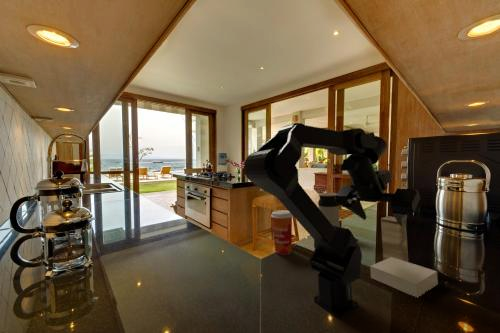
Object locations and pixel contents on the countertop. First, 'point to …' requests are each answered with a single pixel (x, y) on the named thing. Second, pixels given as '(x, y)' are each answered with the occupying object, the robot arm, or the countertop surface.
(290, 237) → the paper cup
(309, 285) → the countertop surface
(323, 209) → the travel mug
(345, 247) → the robot arm
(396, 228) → the oak post
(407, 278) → the base slab
